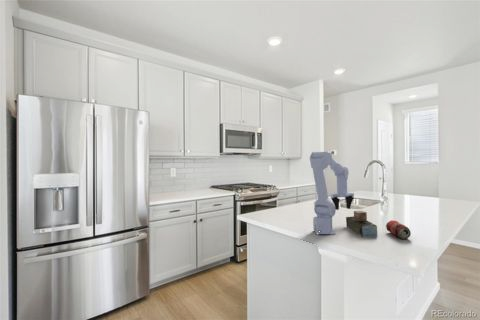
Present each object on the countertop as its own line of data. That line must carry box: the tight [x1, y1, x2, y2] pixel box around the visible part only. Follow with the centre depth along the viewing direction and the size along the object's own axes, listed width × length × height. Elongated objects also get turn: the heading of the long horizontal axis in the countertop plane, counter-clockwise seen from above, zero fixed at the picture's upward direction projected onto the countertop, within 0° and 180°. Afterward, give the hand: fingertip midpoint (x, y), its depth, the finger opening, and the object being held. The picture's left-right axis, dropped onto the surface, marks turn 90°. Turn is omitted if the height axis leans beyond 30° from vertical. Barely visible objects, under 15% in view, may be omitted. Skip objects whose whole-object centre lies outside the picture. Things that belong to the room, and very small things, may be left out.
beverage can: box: [385, 220, 412, 240], centre depth 117 cm, size 7×12×7 cm, turn 170°
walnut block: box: [353, 210, 368, 221], centre depth 127 cm, size 4×4×4 cm
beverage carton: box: [345, 216, 378, 238], centre depth 127 cm, size 8×19×7 cm, turn 179°
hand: (342, 209), depth 141 cm, fingers open, 7 cm apart
